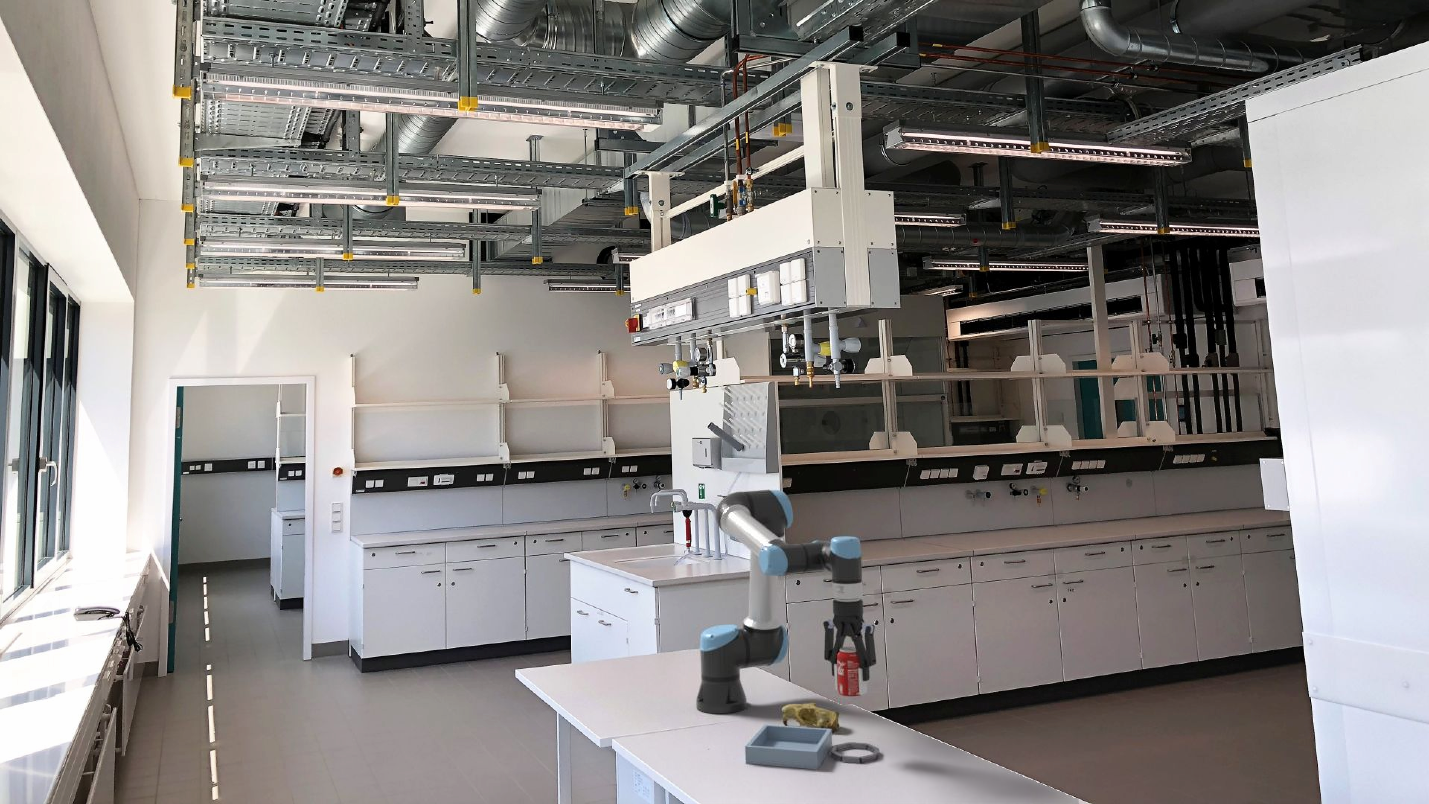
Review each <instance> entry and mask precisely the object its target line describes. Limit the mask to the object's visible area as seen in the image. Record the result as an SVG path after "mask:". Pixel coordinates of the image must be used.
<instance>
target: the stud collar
mask: <svg viewBox="0 0 1429 804" xmlns="http://www.w3.org/2000/svg"><path fill="white" fill-rule="evenodd" d="M832 746H833V747H831V749H830V757H831V758H834V759H835V760H836V761H839V762H842V763H851V764H865V763H868V762H870V763H871V762H874V761H877V760H878V759H879V756H880V748H879V747H878V746H875V745H872V744H871V743H867V742H854V741H853V742H852V741H850V742H844V743H839V744H838V743H837V744H834V745H832ZM848 749H857V750H867V751H868V752H871V753H872V754H867V755H863V756H853V755H852V756H850V755H843V754H842V753H839V752H838V751H844V750H848Z"/></svg>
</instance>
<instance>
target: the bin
mask: <svg viewBox="0 0 1429 804" xmlns="http://www.w3.org/2000/svg"><path fill="white" fill-rule="evenodd" d="M832 746H833V733H832V729H825V728H820V727H815V728H811V727H807V726H792V725H791V726H790V725H787V726H785V725H778V724H777V725H776V724H763V725H762V727H761V728H760V729H759V730H758V731H757V732H756V733H755V735H754V736H753V737H752V738H751V739H750V740H749V742H748V743H747V744H746V745H745V746H744V749H745V750H744V753H745V755H744V756H745V764H751V765H759V766H760V765H761V766H774V767H785V768H787V767H788V768H797V769H798V768H799V769H811V770H818V769H819V768H820V766H821V765H822V763H823V761H824V759H825V758H826V756H827V754H828V753H829V751H831V749H832Z"/></svg>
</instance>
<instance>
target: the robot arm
mask: <svg viewBox="0 0 1429 804" xmlns="http://www.w3.org/2000/svg"><path fill="white" fill-rule="evenodd" d="M792 507H793V506H792V503H791V501H790V499H789V497H788V496H787V494H786V493H785V492H784V491H782V490H779V489H778V490H777V489H762V490H748V491H736V492H732V493H729V494H727V495H726V496H724V498H722V499H721V500H720V502H719V503H718V505H717V507H716V510H715V521H716V524H717V526H718V528H719V529H720V530H721V531H722V532H723V533H724V534H725V535H727V536H729V537H734V538H735V539H737V540H738V541H739V542H740V543H741V544H743V545H744V546H745V547H746V548H747V549H749V550H750V558H749V559H750V560H749V585H748V586H749V588H748V589H749V591H748V615H747V616H746V617H745V618H744V619H743V621H742V623H743V625H742V628H739V627H738V625H737V624H730V623H729V624H721V625H720V624H719V625H715V626H714V625H713V626H712V627H709V628H706V629H705V630H703V632H702V633H701V634H700V639H699V640H700V641H699V642H700V643H699V651H700V673H701V674H700V675H701V679H700V680H701V682H700V685H699V687H698V688H699V689H698V692H697V696H696V700H695V701H696V702H695V703H696V704H695V705H696V707H695V708H696V709H697V710H699V711H700V712H704V713H707V714H708V713H709V714H729V713H730V714H732V713H736V712H741V711H743V710H744V709H746V708H747V707H748V705H747V704H748V703H747V701H748V700H747V696H746V692H745V690H744V687H743V684H742V681H741V673H740V672H741V670H742V669H749V668H757V667H763V666H764V667H770V666H772V665H777V664H779V663H781V662H783V660H784V659H785V658H786V656H787V653H788V648H789V637H788V632H787V630H786V627H785V626H784V625H783V624H782V621H781V620H780V619H779V618H778V612H777V611H778V592H779V591H778V589H779V588H778V585H779V576H784V575H793V574H804V573H815V572H829V573H831V584H832V585H831V586H832V587H831V588H832V597H833V600H832V613H833V615H834V616H833V617H832V619H828V620H826V621H823V624H822V625H823V628H824V654H823V658H824V660H825V661H828V662H830V664H831V676H832V677H834V691H835V692H836V691H837V692H838V665H837V654H838V653H839V651H840V648H842V647H844V643H845V640H846V638H847V637H849V638H850V639H851V641H852V642H853V644H854V647H855V648H856V652H857V655H858V658H859V661H860V664H861V667H860V668H858V673H859V695H862V696H863V695H864V694H865V695H866V694H867V693H868V681H869V680H870V676H871V675H870V667H873V666H875V665H877V654H876V644H875V639H874V638H875V637H874V633H875V628H876V627H875V625H874V624H868V623H866V622H865V620H864V617H863V615H864V601H863V599H862V598H863V597H864V596H863V595H864V594H863V575H862V574H863V571H862V564H863V563H862V553H863V552H862V550H861V549H862V548H861V541H860V539H859V538H858V537H856V536H848V535H847V536H846V535H845V536H844V535H843V536H835V537H832V538H831V539H830V541H828V540H824V539H822V540H820V539H819V540H814V541H812V542H805V543H791V544H790V543H789V544H788V543H787V542H785V541H784V540H782V539H783V538H784V537H785V535H786V533H785V532H786V531H785V530H786V529H788V528H790V527H791V526H792V524H793V521H794V512H793V508H792ZM835 628H836V634H835ZM862 631H863V633H864V640H863V634H862ZM834 640H835V641H834Z"/></svg>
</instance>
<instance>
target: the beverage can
mask: <svg viewBox="0 0 1429 804" xmlns="http://www.w3.org/2000/svg"><path fill="white" fill-rule="evenodd" d="M837 665H838V691H837V692H838V695H840V696H841V699H843V700H848V701H854V700H855V701H856V700H859V699H861V698H862V696H863V695H859V673H858V668H860V667H861V664H860V661H859V658H858V655H857V652H856V648H855V646H843V647H842V648H840V651H839V653H838V654H837Z"/></svg>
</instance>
